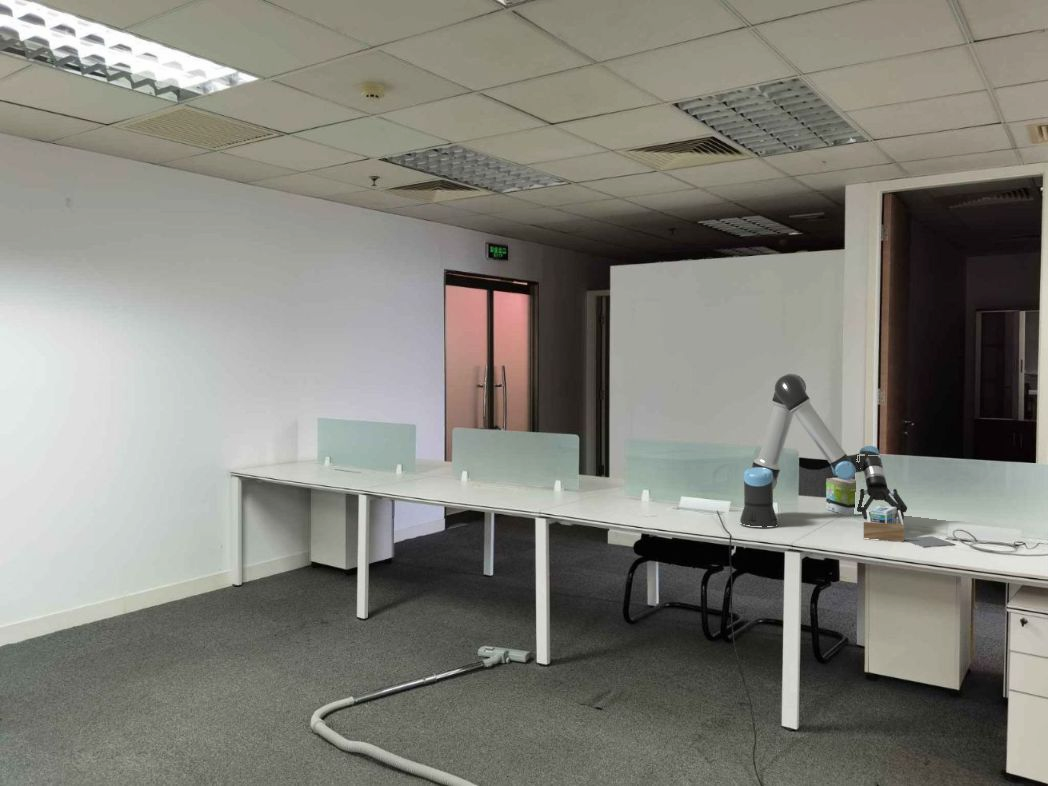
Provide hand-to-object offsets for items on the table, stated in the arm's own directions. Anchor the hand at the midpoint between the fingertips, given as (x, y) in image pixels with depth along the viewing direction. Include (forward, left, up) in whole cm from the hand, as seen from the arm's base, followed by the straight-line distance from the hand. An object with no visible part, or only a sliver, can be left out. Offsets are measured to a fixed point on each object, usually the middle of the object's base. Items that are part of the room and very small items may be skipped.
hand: (885, 526), depth 311 cm
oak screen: (-4, -5, -4) cm, 8 cm away
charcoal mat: (+9, -12, -4) cm, 16 cm away
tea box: (+11, +46, -4) cm, 48 cm away
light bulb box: (+1, +3, -4) cm, 5 cm away
